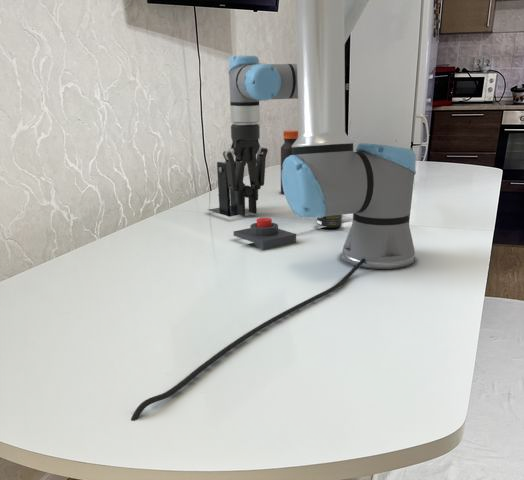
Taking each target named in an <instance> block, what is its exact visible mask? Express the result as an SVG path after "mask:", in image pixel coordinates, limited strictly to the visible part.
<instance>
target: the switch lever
mask: <svg viewBox="0 0 524 480" xmlns="http://www.w3.org/2000/svg"><path fill="white" fill-rule="evenodd" d="M224 163H226V161H224ZM242 191H245V199H248V197H250V196H252V194H253V189H252V188H251V186H250V185H247V184H245V183H244V182H243V187H242Z"/></svg>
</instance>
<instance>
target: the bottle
mask: <svg viewBox="0 0 524 480" xmlns="http://www.w3.org/2000/svg"><path fill="white" fill-rule="evenodd" d="M298 137H299V130H284V131H283V141H284V143H283V144H282V145H281V146H280V193H281V194H283V195H285V194H284V191H283V186H282V176H281V174H282V169H283V166H282V165H283V162H284V160H285V159H286V158H287V157H289V156H290V155H292V145H293V144H294V142H295V141H296V140H297V139H298Z"/></svg>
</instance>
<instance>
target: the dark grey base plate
mask: <svg viewBox="0 0 524 480" xmlns="http://www.w3.org/2000/svg"><path fill="white" fill-rule="evenodd" d="M233 237H237V238H240V239H243V240H245V241H248V242H249V243H246V245H247V246H250V247H253V248H255V249H259V250H261V251H265V250H270V249H275V248H279V247H282V246H288V245H291V244H295V243H297V233H294V232H290V231H288V230H284V229H281V228H279V224H277V223H275V222H272V226H271V227H257V222H254V223H252V224H250V227H248V228H244V229H239V230H234V231H233Z"/></svg>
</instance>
